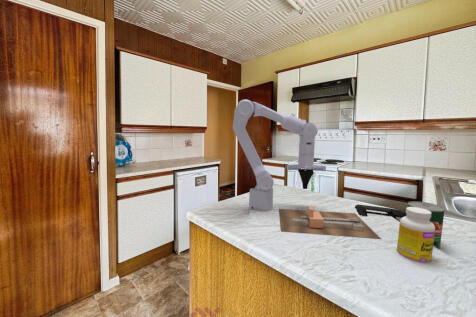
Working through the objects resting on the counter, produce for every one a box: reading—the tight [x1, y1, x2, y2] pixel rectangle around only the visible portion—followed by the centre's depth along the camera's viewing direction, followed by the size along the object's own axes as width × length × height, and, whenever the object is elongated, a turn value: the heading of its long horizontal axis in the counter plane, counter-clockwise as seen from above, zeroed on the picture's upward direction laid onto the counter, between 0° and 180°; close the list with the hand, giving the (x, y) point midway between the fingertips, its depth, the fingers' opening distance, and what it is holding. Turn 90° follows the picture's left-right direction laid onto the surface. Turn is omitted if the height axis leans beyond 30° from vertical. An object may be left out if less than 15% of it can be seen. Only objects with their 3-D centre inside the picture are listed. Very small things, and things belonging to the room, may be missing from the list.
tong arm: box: [301, 216, 360, 223], centre depth 71 cm, size 18×2×2 cm, turn 81°
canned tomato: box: [407, 201, 446, 250], centre depth 61 cm, size 8×8×11 cm
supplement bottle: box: [396, 206, 435, 263], centre depth 53 cm, size 7×7×13 cm
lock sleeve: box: [306, 205, 324, 228], centre depth 70 cm, size 4×7×5 cm, turn 171°
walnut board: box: [278, 208, 382, 240], centre depth 73 cm, size 28×20×2 cm
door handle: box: [354, 204, 407, 223], centre depth 78 cm, size 3×20×16 cm
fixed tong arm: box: [292, 219, 364, 231], centre depth 68 cm, size 21×2×2 cm, turn 81°
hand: (304, 188), depth 85 cm, fingers closed
